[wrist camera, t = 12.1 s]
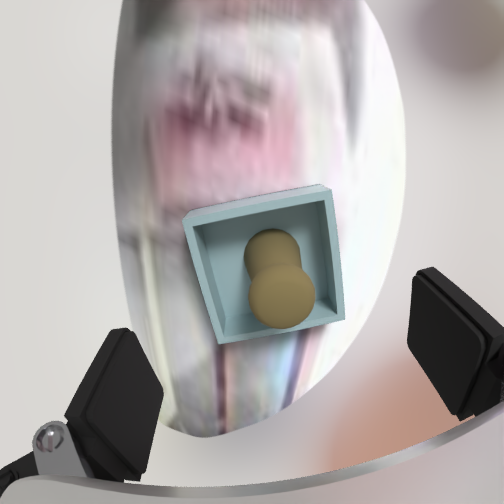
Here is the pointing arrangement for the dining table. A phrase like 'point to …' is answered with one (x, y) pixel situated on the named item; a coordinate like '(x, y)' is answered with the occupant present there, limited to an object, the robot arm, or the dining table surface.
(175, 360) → the dining table surface
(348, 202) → the dining table surface
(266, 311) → the cork
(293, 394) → the dining table surface
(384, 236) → the dining table surface
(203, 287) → the bin
